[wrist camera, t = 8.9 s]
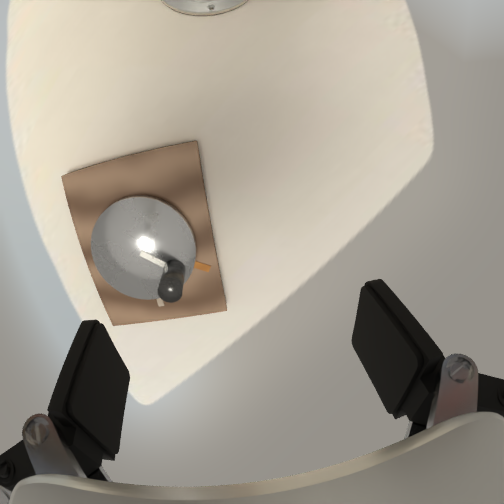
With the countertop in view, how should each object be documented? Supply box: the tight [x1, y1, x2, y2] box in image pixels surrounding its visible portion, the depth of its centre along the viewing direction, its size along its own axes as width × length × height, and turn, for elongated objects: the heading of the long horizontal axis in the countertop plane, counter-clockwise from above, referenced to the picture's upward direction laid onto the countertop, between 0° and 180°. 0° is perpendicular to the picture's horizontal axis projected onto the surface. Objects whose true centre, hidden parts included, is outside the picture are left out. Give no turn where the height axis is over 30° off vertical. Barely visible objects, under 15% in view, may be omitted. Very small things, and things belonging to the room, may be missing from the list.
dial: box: [91, 195, 196, 303], centre depth 29 cm, size 13×13×6 cm
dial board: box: [61, 141, 227, 326], centre depth 33 cm, size 22×17×2 cm
